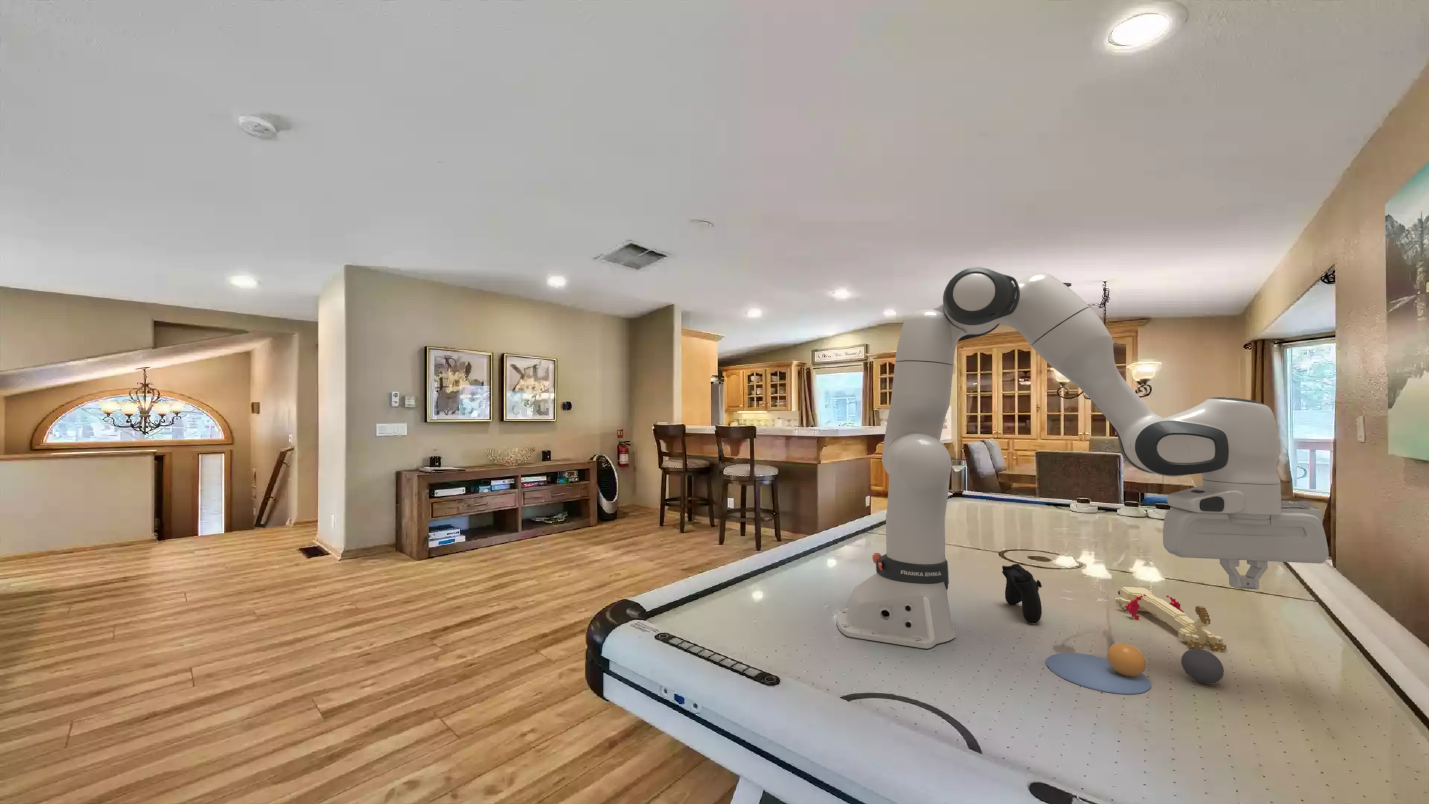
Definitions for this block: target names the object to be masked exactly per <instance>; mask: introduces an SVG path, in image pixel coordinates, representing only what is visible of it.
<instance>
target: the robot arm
mask: <svg viewBox="0 0 1429 804" xmlns="http://www.w3.org/2000/svg"><path fill="white" fill-rule="evenodd" d="M1000 325H1005V326H1008V327H1011V328H1013V329H1014V330H1016V331H1017V332H1018V333H1020V334H1021V336H1023V338H1024V339H1025V341H1026V342H1027V343H1028V345H1030V347H1032V348H1033V350H1034V351H1035V352H1036V353H1037V354H1038V356H1040V358H1042V360H1044V361H1045V362H1046V363H1047V364H1048V365H1049V366H1051V367H1052V369H1054V370H1056V371H1057V372H1058V373H1060V374H1061V375H1062V376H1064V377H1065V378H1066V379H1067V380H1069V381H1070V382H1071V383H1073V384H1074V385H1075V386H1077V387H1078V388H1079V389H1080V390H1081V391H1082V392H1083V393H1084V394H1085V395H1086V397H1087V398H1089V400H1090V401H1091V402H1092V403H1093V404H1094V406H1095V407H1096V408H1097V409H1098V411H1100V413H1101V414H1102V415H1103V417H1104V418H1105V419H1106V420H1107V421H1108V423H1109V424H1111V426H1112V428H1113V429H1114V430H1115V432H1116V435H1117V438H1118V444H1119V448H1120V451H1121V453H1122V456H1123V457H1124V458H1125V460H1126V461H1127V462H1128V463H1129V464H1130V465H1131V466H1132V467H1134V468H1135V469H1136V470H1139V471H1142V472H1145V473H1148V474H1154V475H1158V476H1163V477H1167V478H1168V477H1170V478H1174V477H1175V478H1177V477H1184V476H1189V475H1198V474H1201V476H1202V485H1197V486H1195V487H1192V488H1191V487H1190V488H1187V489H1184V490H1180V491H1179V490H1178V491H1175V492H1171V493H1169V494H1168V495H1167V497H1166V502H1167V505H1168V506H1170V507H1172V508H1170V509H1169V510H1168V511H1167V512H1166V513H1165V515H1164V519H1163V527H1162V545H1163V548H1164V549H1165V550H1166V551H1167V552H1168V553H1169V554H1171V555H1174V556H1176V557H1177V558H1178V557H1179V558H1187V559H1189V558H1190V559H1207V560H1208V559H1209V560H1210V559H1213V560H1219V564H1220V565H1221V567H1222V568H1223V570H1224V571H1225V572H1226V574H1227V575H1228V583H1229V586H1230V587H1231V588H1233V589H1234V588H1235V589H1242V590H1244V589H1245V590H1259V588H1260V579H1261V578H1262V577H1263V576H1264V574H1265V573H1266V571H1267V570H1268V562H1277V563H1279V562H1280V563H1300V564H1324V563H1325V562H1326V561H1327V559H1329V553H1330V552H1329V547H1328V541H1327V536H1326V532H1325V529H1324V525H1323V512H1322V510H1321V509H1319V508H1318V507H1317V506H1316V505H1315V504H1311V503H1310V501H1309V502H1308V501H1306V500H1305V501H1304V500H1303V501H1302V500H1298V501H1293V500H1291V501H1290V500H1282V491H1281V490H1282V489H1281V488H1282V487H1281V479H1280V476H1279V475H1278V471H1277V463H1278V460H1279V457H1280V444H1279V443H1280V442H1279V435H1278V428H1277V421H1276V419H1275V414H1274V412H1273V411H1272V409H1271V408H1270V407H1269V406H1268V405H1267V404H1264V403H1262V402H1260V401H1257V400H1252V399H1246V398H1239V397H1238V398H1237V397H1226V396H1222V397H1221V396H1219V397H1218V396H1217V397H1216V396H1215V397H1208V398H1207V399H1205V400H1204V401H1203V402H1202V403H1200V404H1197V405H1195V406H1194V407H1193V406H1192V407H1190V408H1188V409H1186V410H1184V411H1181V412H1178V413H1175V414H1171V415H1169V416H1165V417H1162V416H1161V415H1158V413H1157V414H1156V413H1155V412H1154V411H1152V409H1150V407H1148V406H1147V404H1145V402H1144V401H1143V399H1141V397H1139V395H1138V394H1137V393H1136V392H1135V391H1134V389H1133V388H1132V387H1131V386H1130V385H1129V384H1128V382H1127V381H1126V380H1125V379H1124V377H1123V376H1122V374H1121V373H1120V372H1119V370H1118V367H1117V365H1116V361H1115V353H1114V340H1113V337H1112V335H1111V334H1110V331H1109V330H1108V328H1107V327H1106V325H1105V324H1104V322H1103V321H1102V319H1101V318H1100V316H1098V314H1097V313H1096V312H1095V311H1094V310H1093V309H1092V308H1091V307H1090V306H1089V304H1088V303H1087V302H1086V301H1084V300H1083V298H1082V297H1081V296H1079V294H1077V293H1076V292H1075V291H1073V290H1072V289H1071V288H1070V287H1069V285H1068V286H1067V285H1066V284H1065V283H1064V282H1062V281H1061V280H1060V279H1058V278H1057V277H1055V276H1054V275H1052V274H1049V273H1046V272H1039V273H1038V272H1037V273H1033V274H1030V275H1028V276H1025V277H1024V278H1021V279H1020V280H1019V281H1018V280H1017V279H1016V278H1015V277H1014V276H1011V275H1007V274H1004V273H1000V272H998V271H995V270H992V269H989V268H986V267H980V266H979V267H978V266H975V267H968V268H965V269H963V270H961V271H959V272H958V273H956V274H955V275H954V276H953V277H951V279H950V280H949V281H948V283H947V285H946V286H945V289H944V291H943V295H942V304H940V305H939V306H937V307H936V308H935V307H934V308H933V309H931V308H928V309H927V308H925V309H920V310H916V311H914V312H912V313H910V314H908V315H907V316H906V318H905V319H904V321H903V324H902V327H901V331H900V334H899V338H898V341H897V346H896V351H895V358H894V369H893V377H892V378H893V379H892V388H891V389H892V390H891V398H890V405H889V411H888V416H887V422H886V427H885V432H884V439H883V446H882V453H881V455H882V456H881V462H882V466H883V468H884V470H885V472H886V473H887V474H888V491H887V493H888V494H887V506H886V514H885V536H886V537H885V544H886V545H885V546H886V549H885V550H886V551H885V552H886V553H885V554H883V555H881V553H879V552H874V553H873V555H872V557H871V558H872V561H873V563H874V564H875V571H876V573H874V574H873V575H872V576H870V577H868V578H867V579H865V580H864V581H862V582H860V583H859V584H857V585H856V586H854V588H853V589H852V590H851V593H850V594H849V598H848V603H847V607H845V608H842V609H841V610H840V611H839V612H838V613H837V615H836V616H837V617H836V626H837V628H838V629H839V630H838V631H840V633H842V634H843V635H845V636H846V637H850V638H855V639H862V640H869V641H872V642H873V641H874V642H881V643H887V644H893V645H900V646H906V647H912V648H913V647H914V648H918V649H919V648H920V649H930V648H933V647H935V646H936V645H938V644H942V643H946V642H949V641H952V640H953V639H954V638H955V637H956V634H957V633H956V629H955V626H954V623H953V619H952V615H951V610H950V605H949V597H948V589H949V583H950V577H949V576H950V569H949V563H948V560H947V559H946V512H947V507H948V497H949V489H950V478H951V473H952V467H953V466H952V465H953V462H952V458H951V455H950V452H949V450H948V449H947V447H946V446H945V445H944V443H943V442H942V441H941V438H942V432H943V428H944V425H945V421H946V417H947V413H948V410H949V409H950V402H951V394H952V383H953V373H954V363H955V362H954V361H955V353H956V347H957V344H958V342H961V341H965V340H969V339H973V338H979V337H982V336H985V335H988V334H989V333H992V332H993V331H994V330H995V329H997V328H998V327H999V326H1000ZM1240 561H1246V564H1247V565H1249V568H1248V570H1247V571H1246V573H1245V575H1244V574H1240V572H1239V571H1238V569H1237V568H1239V567H1240Z"/></svg>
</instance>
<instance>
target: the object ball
mask: <svg viewBox="0 0 1429 804" xmlns="http://www.w3.org/2000/svg"><path fill="white" fill-rule="evenodd" d="M1106 657H1107V658H1106V659H1108V662H1109V664H1110V665H1111V667H1112V668H1113V669H1114V670H1115V671H1116V672H1118V673H1119V674H1121V675H1124V676H1128V677H1135V676H1138V675H1140V674H1143V672H1145V669H1146V667H1147V663H1146V659H1145V656H1144V654H1143V653H1142V652H1141V651H1140V650H1139V648H1137V647H1136V646H1134V645H1132V644H1129V643H1125V642H1116V643H1113V644H1112V645H1111V646H1110V647H1109V648H1108V650H1107V653H1106Z"/></svg>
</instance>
